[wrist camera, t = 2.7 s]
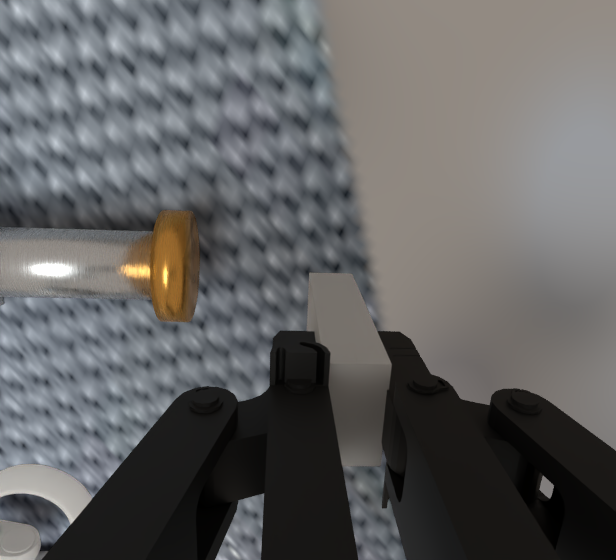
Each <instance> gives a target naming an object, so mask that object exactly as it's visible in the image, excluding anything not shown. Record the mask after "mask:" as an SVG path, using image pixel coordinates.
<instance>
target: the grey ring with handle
mask: <svg viewBox="0 0 616 560" xmlns="http://www.w3.org/2000/svg"><path fill="white" fill-rule="evenodd" d="M18 493H25V494H33V495H37V496H40V497H43V498H45V499H47V500H50V501H51V502H53V503H54V504H56V505H57V506H58V507H59V508H60V509H61V510H63V512H64V513H65V514H66V516H67V517H68V519H69V522H70V524H72V523H73V521H74V520H75V519H76V518H77V517H78V515H79V514H80V513H81V512H82V511H83V509H84V508H85V507H86V506H87V505H88V503H89V502H90V501H91V500H92V497H91V495H90V494H89V492H88V491H87V489H86V488H85V487H84V486H83V485H82V484H81V483H80V482H79V481H78V480H77V479H75V478H74V477H72V476H71V475H69V474H68V473H65V472H63V471H61V470H59V469H56V468H53V467H49V466H46V465H38V464H21V465H17V466H12V467H9V468H6V469H4V470H1V471H0V497H3V496H5V495H10V494H18ZM40 547H41V540H40V535H39V532H38V531H37V529H36V528H35V527H33V526H31V525H28V524H23V523H17V522H12V521H6V520H1V519H0V560H42V558H43V557H44V556H45V555H46V554H47V552H48V551H39V550H40Z"/></svg>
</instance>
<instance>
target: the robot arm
mask: <svg viewBox="0 0 616 560" xmlns="http://www.w3.org/2000/svg"><path fill="white" fill-rule="evenodd" d="M382 449H383V450H384V453H385V456H386V459H387V462H386V470H385V479H384V488H383V497H382V508H387V502H388V499H389V498H390V501H391V505H392V508H393V512H394V516H395V519H396V523H397V526H398V530H399V534H400V537H401V541H402V545H403V548H404V552H405V556H406V559H407V560H616V451H615V450H614V449H613V448H611V447H610V446H609V445H607V444H606V443H605V442H603V441H602V440H601V439H599V438H598V437H596V436H595V435H594V434H592V433H591V432H590V431H588V430H587V429H586V428H584V427H583V426H582V425H580V424H579V423H577V422H576V421H575V420H573V419H572V418H571V417H569V416H568V415H567V414H565V413H564V412H563V411H561V410H560V409H558V408H557V407H556V406H554V405H553V404H552V403H550V402H549V401H548V400H546V399H544V398H542V397H540V396H539V395H536V394H534V393H531V392H529V391H526V390H520V389H502V390H498V391H496V392H495V393H494V394H493V395H492V397H491V402H490V405H485V404H480V403H475V402H470V401H465V400H462V399H460V398H459V396H458V394H457V393H456V391H455V390H454V388H453V387H452V386H451V385H450V384H449V383H448V382H447V381H445V380H444V379H442V378H440V377H438V376H434V375H431V374H430V372H429V370H428V369H427V367H426V365H425V363H424V362H423V360H422V358H421V357H420V355H419V353H418V351H417V350H416V348H415V346H414V344H413V343H412V341H411V339H409V338H408V337H406V336H405V335H404V334H402V333H401V332H390V331H377V330H376V327H375V325H374V323H373V321H372V318H371V316H370V314H369V311H368V309H367V307H366V305H365V302H364V300H363V298H362V295H361V293H360V291H359V289H358V286H357V284H356V282H355V279H354V277H353V275H352V274H340V273H309V293H308V315H307V331H280V332H279V333H278V334H277V335H276V336H275V337H274V338H273V346H272V350H271V352H270V386H269V388H268V389H267V391H266V392H264V393H263V394H262V395H260V396H258V397H255V398H253V399H249V400H246V401H241V402H238V401H237V399H236V397H235V395H234V394H233V393H231V392H230V391H228V390H226V389H223V388H219V387H209V386H206V387H199V388H195V389H192V390H189V391H187V392H184V393H183V394H181V395H180V396H179V397H178V398H176V399H175V401H174V402H173V403H172V404H171V405H170V407H169V408H168V409H167V410H166V411H165V413H164V414H163V415H162V416H161V417H160V419H159V420H158V421H157V422H156V423H155V424H154V426H153V427H152V428H151V429H150V430H149V432H148V433H147V434H146V435H145V436H144V438H143V439H142V440H141V441H140V442H139V444H138V445H137V446H136V447H135V448H134V450H133V451H132V452H131V453H130V454H129V456H128V457H127V458H126V459H125V460H124V462H123V463H122V464H121V465H120V466H119V468H118V469H117V470H116V471H115V472H114V474H113V475H112V476H111V477H110V478H109V480H108V481H107V482H106V483H105V484H104V485H103V487H102V488H101V489H100V490H99V491H98V493H97V494H96V495H95V496H94V497H93V499H92V500H91V501H90V502H89V503H88V505H87V506H86V507H85V508H84V509H83V511H82V512H81V513H80V514H79V515H78V517H77V518H76V519H75V520H74V521H73V523H72V524H71V525H70V526H69V527H68V529H67V530H66V531H65V532H64V533H63V535H62V536H61V537H60V538H59V539H58V540H57V542H56V543H55V544H54V545H53V546H52V548H51V549H50V550H49V551H48V552H47V554H46V555H45V556H44V557H43V558H42V560H215V558H216V556H217V554H218V551H219V549H220V547H221V545H222V542H223V540H224V538H225V535H226V533H227V531H228V529H229V526H230V524H231V522H232V519H233V517H234V515H235V513H236V510H237V505H238V500H240V499H244V498H248V497H252V496H255V495H259V494H263V493H264V512H263V532H262V552H261V560H358V555H357V549H356V544H355V538H354V532H353V526H352V520H351V514H350V509H349V503H348V497H347V491H346V485H345V479H344V473H343V468H342V466H381V458H382ZM543 475H544V476H545V477H546V478H547V479H548V480H549V481H550V482H551V483H552V484H553V485H554V489H553V493H552V496H551V498H550V499H549V498H548V497H546V496H545V495H544V494H543V493H542V492H541V491H540V490H539V488H540V483H541V480H542V476H543Z"/></svg>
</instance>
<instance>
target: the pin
mask: <svg viewBox="0 0 616 560" xmlns="http://www.w3.org/2000/svg"><path fill="white" fill-rule="evenodd" d="M199 270H200V251H199V236H198V228H197V223H196V219H195V216H194V214H193V212H192V211H177V210H163V211H161V212H160V214H159V215H158V217H157V220H156V223H155V226H154V231H122V230H88V229H54V228H21V227H0V297H41V298H89V299H137V300H152V302H153V307H154V310H155V313H156V316H157V318H158V319H159V320H160V321H162V322H190V321H191V319H192V317H193V315H194V312H195V307H196V302H197V296H198V287H199Z"/></svg>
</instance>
